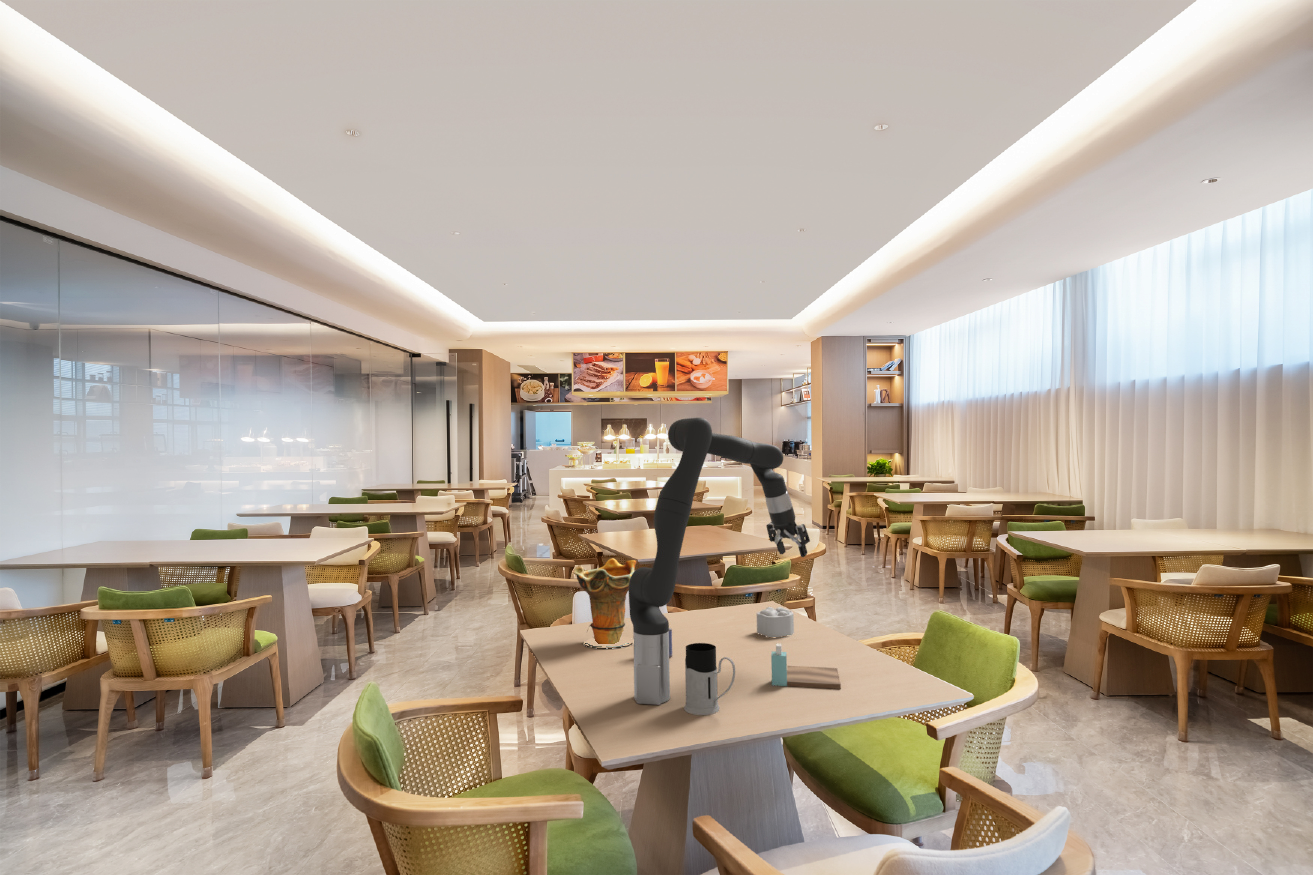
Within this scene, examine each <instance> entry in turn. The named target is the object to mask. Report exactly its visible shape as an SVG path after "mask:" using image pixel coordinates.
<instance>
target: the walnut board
mask: <svg viewBox="0 0 1313 875" xmlns="http://www.w3.org/2000/svg"><path fill="white" fill-rule="evenodd" d="M839 675H840V674H839V670H838V668H837V667H826V666H825V667H824V666H821V667H819V666H805V665H804V666H803V665H800V666H799V665H787V686H786V687H797V688H799V687H801V688H816V689H817V688H818V689H819V688H820V689H832V690H833V689H834V690H835V689H837V690H838V689H839V690H841V687H842V686H841V679H840V676H839Z"/></svg>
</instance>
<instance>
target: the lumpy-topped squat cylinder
mask: <svg viewBox="0 0 1313 875" xmlns="http://www.w3.org/2000/svg"><path fill="white" fill-rule="evenodd" d="M794 618H795V617H794V612H793V611H792V610H790V609H788V608H784V607H782V606H779V607H776V608H774V607H772V606H768V607H766V608H765V609H762V610H760V611H757V612H756V634H757V633H759V634H762V635H765V636H767V637H781V636H787V635H791V636H793V635H794V634H795V624H794V623H795V622H794V620H795V619H794ZM793 633H794V634H793ZM759 634H758V635H759ZM792 634H793V635H792ZM762 635H761V636H762ZM767 637H766V638H767ZM787 637H788V636H787ZM781 638H782V637H781Z"/></svg>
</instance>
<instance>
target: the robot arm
mask: <svg viewBox="0 0 1313 875" xmlns="http://www.w3.org/2000/svg"><path fill="white" fill-rule="evenodd" d="M667 436H668V437H667V438H668V441H669V444H670V445H671V447H672V448H674V449H675V450H676V451H679V452H682V454H681V457H680V461H679V462H678V465H677V467H676V468H675V470H674V472H673V473H672V474H671V476H670V477H669V478H668V479H667V480H666V482H665V484H664V485H663V487H662V488H661V490H660V492H659V495H658V499H657V501H656V505H655V508H654V512H653V513H654V515H653V527H654V532H655V538H656V552H655V554H656V555H655V559H654V561H653V564H652V565H653V566H652V567H647V566H646V567H643V566H642V567H639V568H637V569H635V571H634V573H633V574H632V576H631V578H630V582H629V591H628V604H629V605H628V606H629V617H630V618H629V619H630V621H631V623H632V630H633V633H632V634H633V636H632V637H633V638H632V639H633V640H634V644H633V690H634V691H633V694H634V695H633V697H634V700H635V701H636V704H639V705H641V704H644V705H658V706H659V705H661V704H664V703H667V702H668V701H669V700H670V698H671V688H670V687H671V684H670V682H671V681H670V678H671V677H670V658H669V628H670V624H669V620H668V618H667V617H666V616H665V615H664V614H663V613H662V611H661V607H664V606H666V605H668V603H669V602H670V601H671V600H672V597H673V595H674V592H675V587H676V583H677V576H678V570H679V563H680V557H681V556H680V555H681V550H682V547H683V543H684V538H685V533H686V528H687V526H688V522H689V520H690V515H691V512H692V506H693V501H694V496H695V494H696V490H697V486H698V482H699V480H700V475H701V472H702V468H703V466H704V464H705V461H706V457H707V455H713V456H716V457H720V458H724V459H727V460H731V461H735V462H737V463H742V464H747V465H750V467H751V469H752V471H753V473H754V474H755V476H756V478H757V479H758V481H759V482H760V484H761V486H762V491H763V494H764V498H765V504H766V507H767V511H768V515H769V518H770V522H769V523H768V524H766V525H765V526H766V530H767V535H768V538H769V539H768V540H769V542H771V543H773V542H774V544H775V545H776V548H777V551H778V553H779V555H784V554H785V553H787V552H786V548H785V545H784V544H785V543H784V541H783V539H789V540H791V541H792V542H794V543H796V545H797V546H798V551H799V555H800V557H801V558H804V557H806V556H807V555H808V550H807V546H806V545H808V543H810V542H811V539H810V537H809V533H808V530H807V527H806V524H804V523H803V524H798V525H797V523H796V514H795V511H794V507H793V503H792V499H791V497H790V495H789V492H788V489H787V486H786V481H785V478H784V477H783V475H782V474H781V473H778V472H775V471H774V470H775V469H777V468H779V467H780V466H781V465H782V464H783V461H784V454H783V452H782V450H781V448H779V447H778V446H776V445H773V444H768V443H763V442H755V441H752V440H749V439H746V438H743V437H739V436H734V435H728V434H720V433H714V432H713V430H712V425H711V423H710V422H709V421H708V420H707V419H706V418H704V417H691V418H690V417H689V418H682V419H678V420H675V421H674V422H673V423H672V424H671V425H670V426H669V428H668V432H667Z"/></svg>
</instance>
